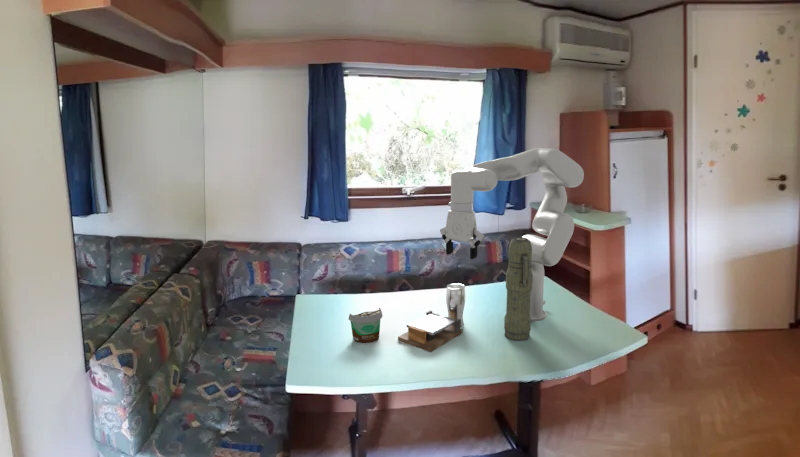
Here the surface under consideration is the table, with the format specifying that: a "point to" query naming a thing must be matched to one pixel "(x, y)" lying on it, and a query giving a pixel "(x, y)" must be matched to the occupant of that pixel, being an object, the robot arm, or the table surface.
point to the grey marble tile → (433, 323)
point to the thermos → (518, 290)
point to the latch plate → (434, 342)
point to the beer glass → (455, 301)
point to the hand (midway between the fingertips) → (461, 256)
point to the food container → (366, 326)
